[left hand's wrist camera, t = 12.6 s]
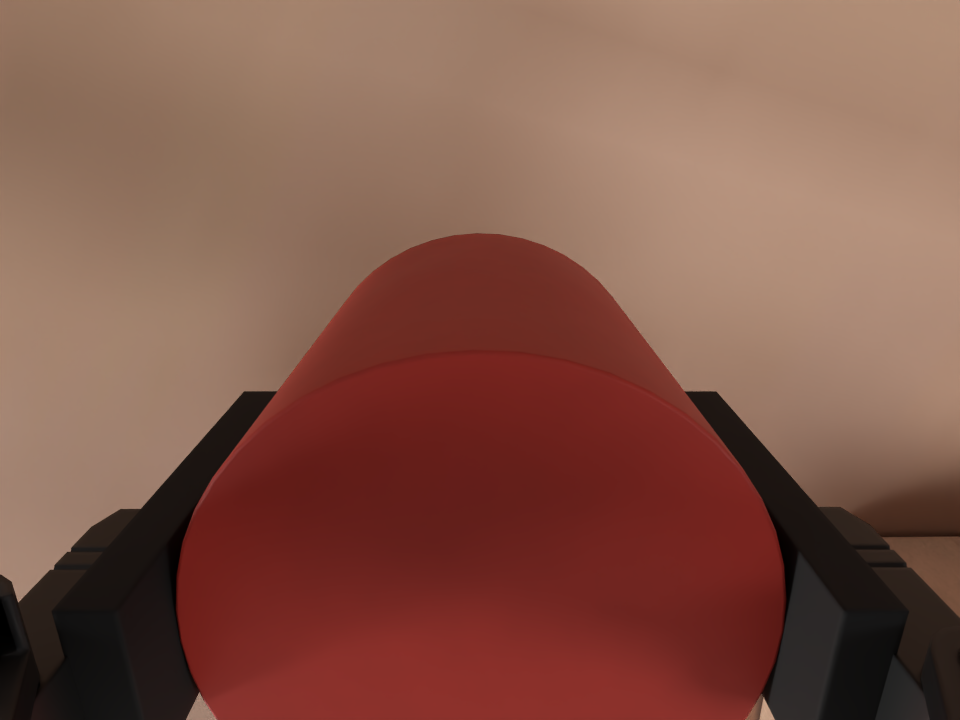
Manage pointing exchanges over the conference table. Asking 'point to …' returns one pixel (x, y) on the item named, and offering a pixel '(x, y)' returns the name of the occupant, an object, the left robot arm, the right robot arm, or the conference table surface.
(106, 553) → the left robot arm
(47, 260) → the conference table surface
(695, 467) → the canister
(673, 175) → the conference table surface
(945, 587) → the box
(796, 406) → the conference table surface
